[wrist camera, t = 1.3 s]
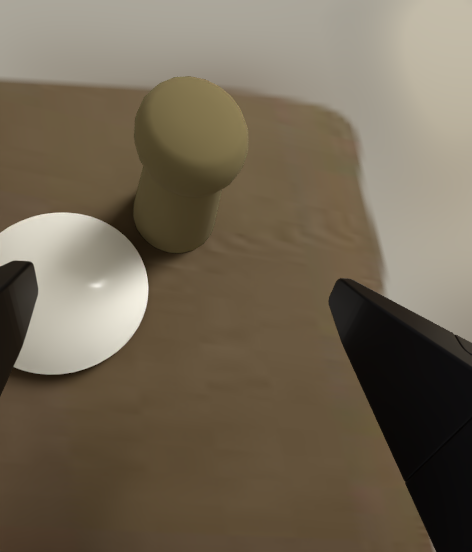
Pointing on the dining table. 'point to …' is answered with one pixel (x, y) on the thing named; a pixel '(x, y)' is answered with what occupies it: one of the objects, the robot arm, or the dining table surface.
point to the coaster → (76, 290)
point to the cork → (185, 160)
